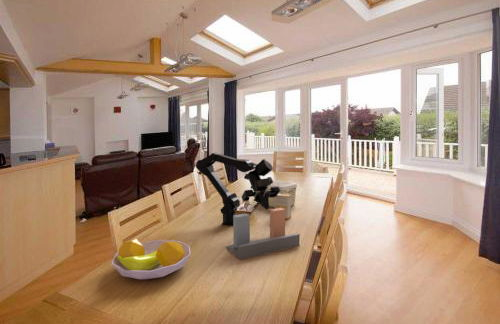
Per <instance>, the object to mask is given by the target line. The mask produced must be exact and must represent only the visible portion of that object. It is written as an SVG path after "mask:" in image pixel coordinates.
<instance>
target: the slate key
mask: <svg viewBox="0 0 500 324" xmlns="http://www.w3.org/2000/svg"><path fill="white" fill-rule="evenodd" d="M250 216H251V215H250V214H248V213H239V214H236V215H233V226H232V227H233V230H232V231H233V245H234V247H236V248H238V245H242V244H247V243H250V241H251V237H250V236H251V235H250V234H251V233H250V232H251V231H250V230H251V226H250V225H251V224H250V220H251V219H250Z"/></svg>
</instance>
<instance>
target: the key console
mask: <svg viewBox="0 0 500 324" xmlns="http://www.w3.org/2000/svg"><path fill="white" fill-rule="evenodd" d="M300 236H301V235H300V233H297V232H295V233H289V234H285V235H284V236H280V237H275V238H270V236H268V237H263V238H258V239H253V240H250V243H247V244H242V245H238V248H236V247H234V244H230V245H226V247H225V248H226V249H227V250H228V251H229V252H231V254H233V255H234V256H235V257H236V258H237V259H238V260H239V261H240V260H245V259H249V258H255V257H258V256H261V255H267V254H270V253H274V252H279V251H283V250H286V249H290V248H291V249H292V248H295V247H299V246H300Z"/></svg>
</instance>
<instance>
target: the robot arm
mask: <svg viewBox="0 0 500 324" xmlns="http://www.w3.org/2000/svg"><path fill="white" fill-rule="evenodd" d="M216 162H217V163H220V164H224V165H228V166H230V167H234V169H236V170H237V171H239V172H241V173H245V174H244V177H243V180H248V181H249V183H250V185H251V186H250V189H245V190H244V191H243V193H242V195H241V200H242V201H243V202H249V200H250V197H251V198H252V197H253V198H254V199H253V201H254V202H256V204H257V203H259V204H260V206H261V207H263V208H264V209H265V210H270V206H269V197H270V198H272V197H276V196H277V195H278V193H279V192H280V189H279V187H271V188H270V190H267V191H266V189H267V188H268V187H267V186H269V185H271V184H272V183H273V180H274V179H273V178H272V177H271V176H268V177H266V176H267V175H268V174H269V173H270V172H271V171H273V169H274V167H273V165H272V164H271V163H270V162H269V161H267V160H266V158H263V159H262V160H261V161H260V162H258V163H255V162H253V161H252V160H250V159H246V158H245V159H243V158H242V159H241V158H235V157H232V156H228V155H224V154H221V153H218V152H213V153H210V154H209V155H208V156H206V157H204V158H202V159H198V160H197V161H196V164H195V168H196V169H197V170H198V171H199V173H200V174H203V175H204V176H206V178H207V179H208V181H209V182H210V183H211V184H212V186H213V187H214V189H215V190H216V191H217V192H218V194H219V196H220V198H221V200H222V204H223V207H221V208H220V213H221V214H222V223H221V225H223V226H224V225H225V226H232V227H233V215H237V212H236V211H238V208H239V207H240V206H241V202H240V198H239V196H238V195H237V193H235V192H234V193H233V192H232V193H231V192H230V191H229V190H228V188H227V186H225V184H224V182H223V181H222V180H221V178H220V177H219V175H218V174H217V173H216V172H215V169H214V164H215V163H216ZM261 177H266V178H261ZM259 204H258V205H259Z"/></svg>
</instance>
